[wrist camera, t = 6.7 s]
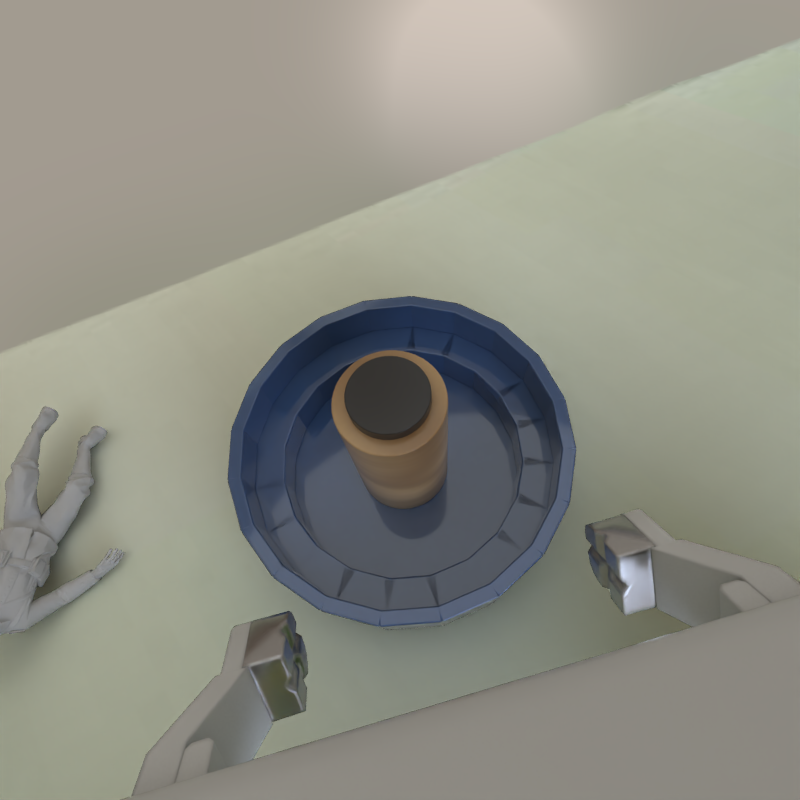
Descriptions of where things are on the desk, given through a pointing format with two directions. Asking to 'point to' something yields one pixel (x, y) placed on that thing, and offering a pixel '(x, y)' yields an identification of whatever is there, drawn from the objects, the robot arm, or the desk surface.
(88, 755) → the desk surface
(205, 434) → the desk surface
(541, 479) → the bowl
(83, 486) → the soldier figure
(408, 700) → the desk surface
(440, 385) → the pepper mill
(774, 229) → the desk surface
